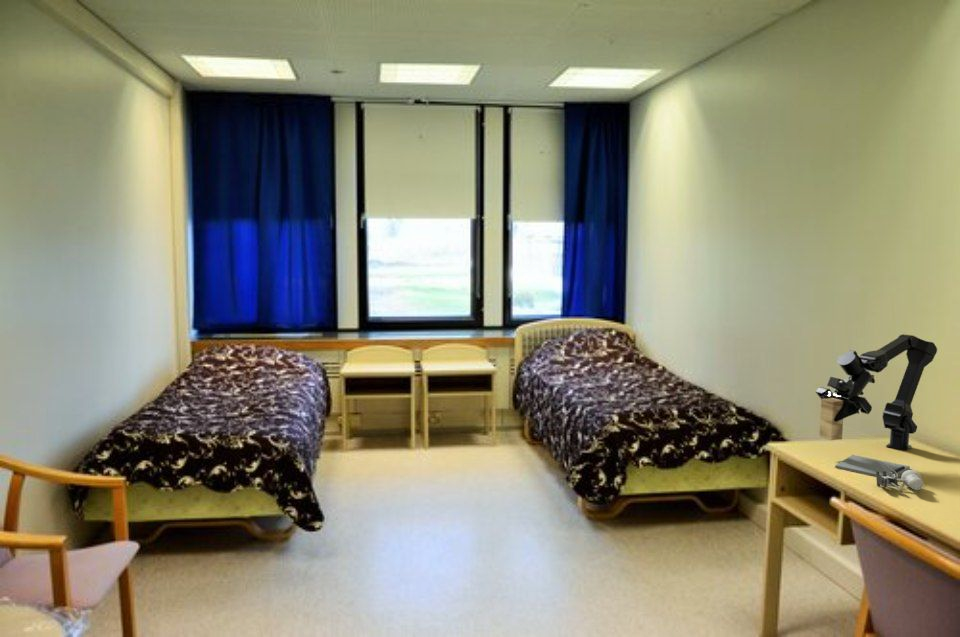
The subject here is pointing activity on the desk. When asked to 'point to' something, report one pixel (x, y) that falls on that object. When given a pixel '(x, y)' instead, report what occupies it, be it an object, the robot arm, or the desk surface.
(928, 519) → the desk surface
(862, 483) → the desk surface
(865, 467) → the slate mat
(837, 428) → the upright wooden block
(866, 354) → the robot arm
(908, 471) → the clip-on lamp
